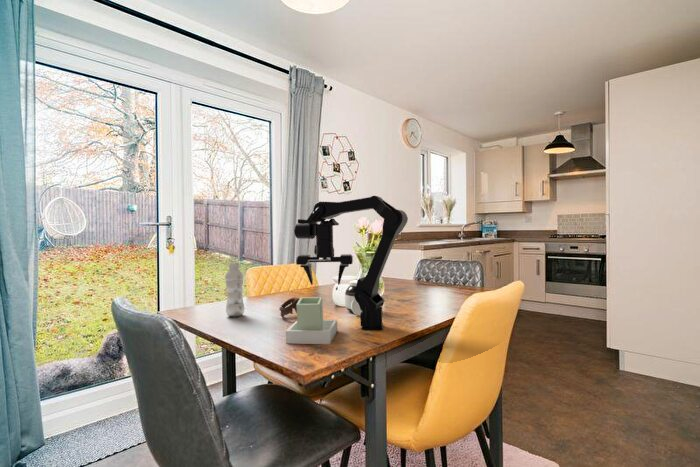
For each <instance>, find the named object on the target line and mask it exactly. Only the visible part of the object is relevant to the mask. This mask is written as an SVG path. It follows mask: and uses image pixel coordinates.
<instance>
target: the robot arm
mask: <svg viewBox="0 0 700 467" xmlns="http://www.w3.org/2000/svg"><path fill="white" fill-rule="evenodd" d="M368 210H373V211H375V212H376V213H377V214H378V216H380V217H381V218H382V219H383V222H382V232H381V233H382V234H381V237H380V240H379V243H378V245H377V247H376V250H375V251H374V252H375V253H374V255H373V258H372V261H371V263H370V265H369V267H368V270H367V273H366V275H365V276H362V277H361V278H358V279H357V280H358V281H357V285H356V288H355V289H354V290H353V291H355V293H354V297H355V300H356V301H357V302H358V304H359V306H360V309H361V311H362V312H361V314H360V316H359V317H360V327H361V330H363V331H364V330H367V331H368V330H370V331H372V330H376V331H383V327H384V323H383V306H384V304H385V299H384V298H383V296H381V295H380V294H379V291H380V290H379V289H380V280H381V276H382V273H383V271H384V269H385V266H386V263H387V261H388V258H389V257H390V254H391V251H392V250H393V249H392V248H393V246H394V243H395V242H396V239H397V238H398V236H400V234H401V233H402V231H403V230H404V228H405V227H406V225H407V223H408V215H407V213H406V211H403V210H401V209H397V208H395V207H394V206H392V205H391V204H389V203H388V202H387V201H385V200H384V199H383V198H382V197H381V196H378V195H372V196H369V197H364V198H363V197H362V198H356V199H350V200H345V201H337V202H336V201H317V202H315V205H314V206H313V210H312V212H311V213H310V214H309V216H308V218H307V219H304V218H303V219H302V218H299V219H297V223H296V224H295V225H294V229H293V231H294V236H295V238H297V239H298V240H300V239H302V240H306V239H307V240H308V239H309V240H314V239H315V240H316V241H315V244H314V248H313V249H314V252H313V253H314V255H316V256H311V254H299V255H298V256H297V257H296V259H295V260H296V262H295V263H296V265H297V266H299V267H300V268H303V270H304V272H305V274H306V275H307V278H308V280H309V283H310V285H312V286H313V284H314V279H313V271H312V263H340V264H339V268H338V269H339V270H338V275H337V276H338V278H337V284H338V286H339V285H340V284H341V281H342V277H343V274H344V271H345V269H346V268H348V267H349V266H350V265H353V260H354V258H353V257H354V256H353V255H352V254H350V253H348V254H346V253H345V254H344V253H343V254H342V253H341V254H340V256H335V247H334V226H339V225H340V223H339V222H337V221H336V220H335V218H337V217H338V216H341V215H343V214H349V213H355V212H361V211H368Z"/></svg>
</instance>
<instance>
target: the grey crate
mask: <svg viewBox="0 0 700 467" xmlns="http://www.w3.org/2000/svg"><path fill="white" fill-rule="evenodd" d="M337 333H338V320H337V319H323V331H309V330H298V328H297V320H296V321H295V322H294V323H292V324H291V325H290V326H289V327H288V328H287V329H286V330H285V343H286V344H298V345H299V344H301V345H302V344H303V345H305V344H307V345H331V344H332V342H333V340H334V338H335V336H336V334H337Z"/></svg>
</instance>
